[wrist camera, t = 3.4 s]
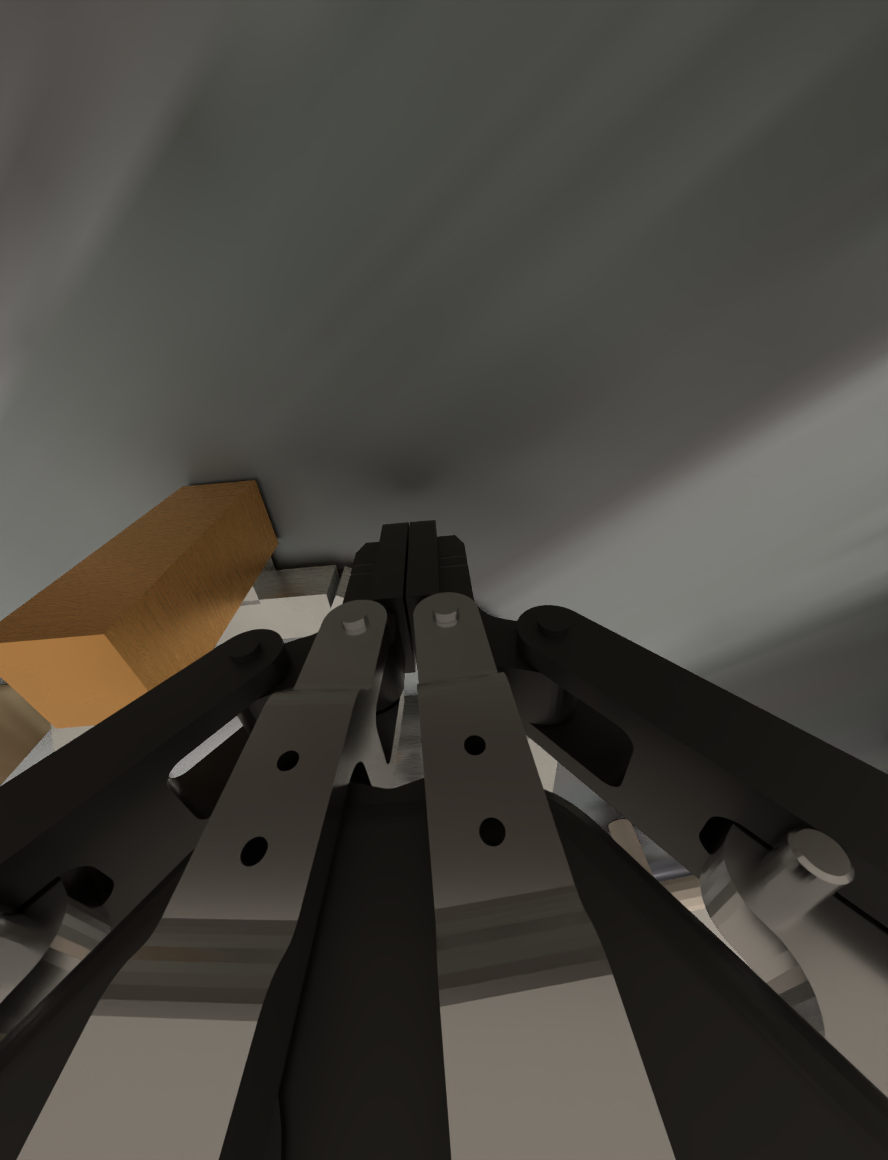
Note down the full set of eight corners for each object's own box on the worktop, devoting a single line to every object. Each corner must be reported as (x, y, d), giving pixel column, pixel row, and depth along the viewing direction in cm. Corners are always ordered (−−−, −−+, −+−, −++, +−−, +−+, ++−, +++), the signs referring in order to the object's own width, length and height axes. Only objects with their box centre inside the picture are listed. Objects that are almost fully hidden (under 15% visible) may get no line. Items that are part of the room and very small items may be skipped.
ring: (583, 450, 14) (729, 580, 7) (535, 830, 31) (565, 971, 24) (-140, 515, 14) (-639, 698, 7) (209, 856, 31) (151, 1002, 24)
